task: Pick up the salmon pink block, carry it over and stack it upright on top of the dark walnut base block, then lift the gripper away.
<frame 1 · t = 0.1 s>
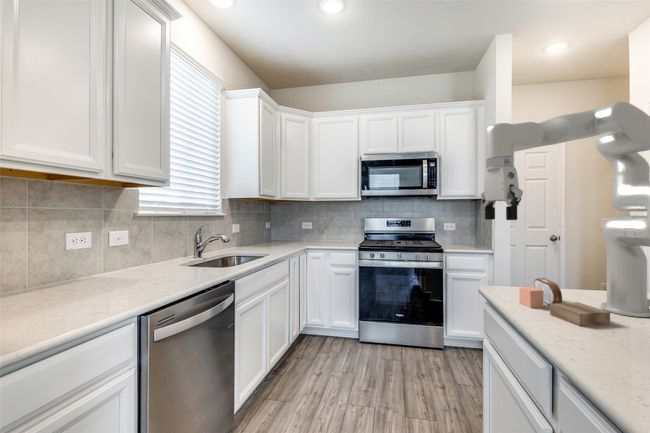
hand: (500, 219, 95), 31 cm above the worktop, tool pointing down, fingers open, 9 cm apart
tin: (546, 303, 111), on the worktop
walnut base: (578, 320, 94), on the worktop
salmon pink block: (531, 305, 108), on the worktop
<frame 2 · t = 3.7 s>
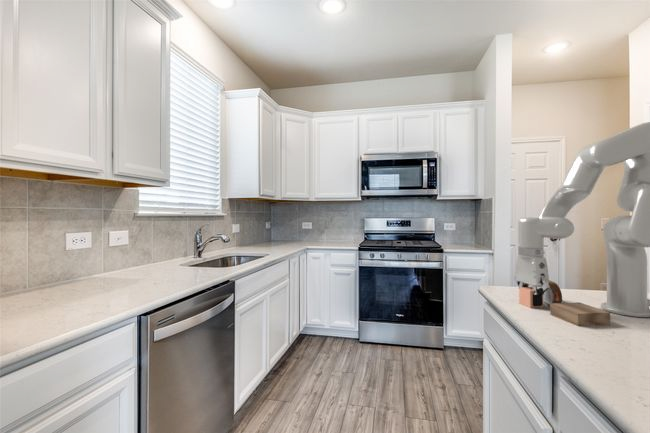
hand: (531, 302, 108), 1 cm above the worktop, tool pointing down, fingers closed on salmon pink block, 4 cm apart
salmon pink block: (531, 305, 108), on the worktop, touching gripper
everything else where it was.
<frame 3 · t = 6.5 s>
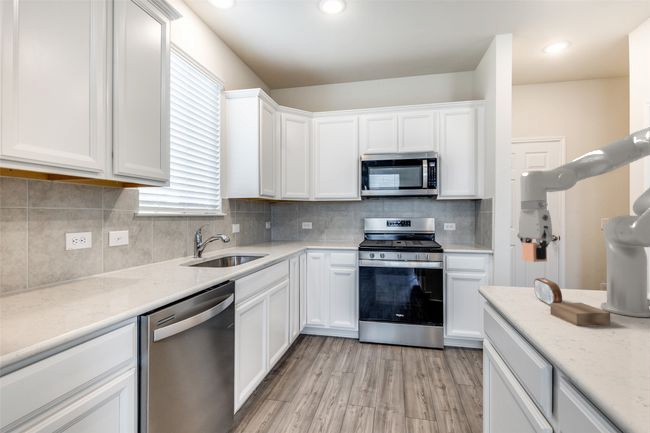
hand: (534, 257, 107), 17 cm above the worktop, tool pointing down, fingers closed on salmon pink block, 4 cm apart
salmon pink block: (534, 260, 107), point 16 cm above the worktop, touching gripper
everything else where it was.
when the fingers open (6 cm above the worktop, at t = 9.7 s): salmon pink block drops 1 cm, resting on walnut base.
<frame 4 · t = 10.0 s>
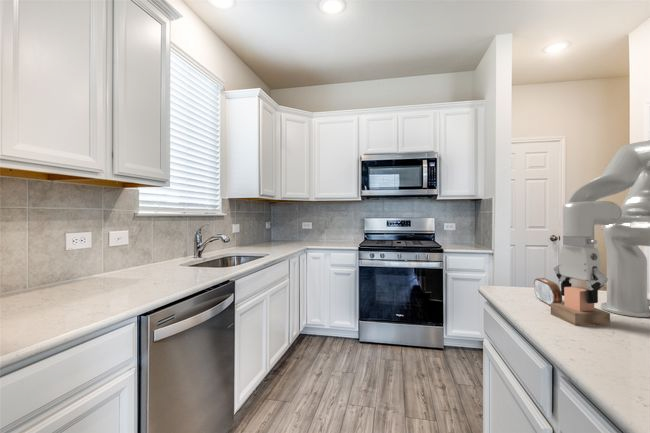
hand: (578, 298, 94), 6 cm above the worktop, tool pointing down, fingers open, 7 cm apart
walnut base: (578, 320, 94), on the worktop, touching salmon pink block
salmon pink block: (579, 308, 94), point 4 cm above the worktop, touching walnut base
everything else where it was.
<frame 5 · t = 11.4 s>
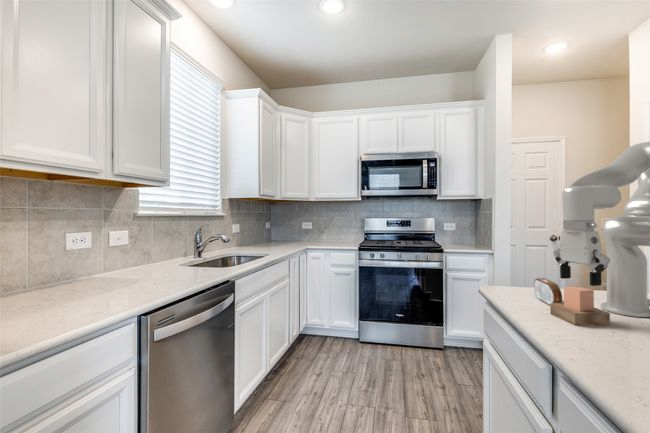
hand: (579, 281, 94), 12 cm above the worktop, tool pointing down, fingers open, 9 cm apart
walnut base: (578, 320, 94), on the worktop
salmon pink block: (578, 307, 94), point 4 cm above the worktop
everything else where it was.
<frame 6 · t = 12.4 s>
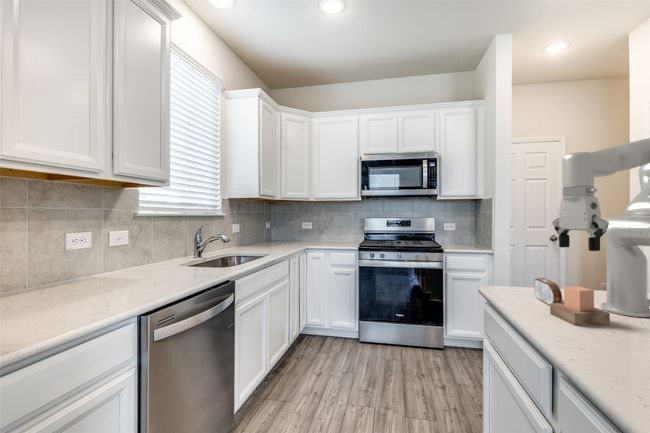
hand: (578, 248, 94), 22 cm above the worktop, tool pointing down, fingers open, 9 cm apart
walnut base: (578, 320, 94), on the worktop, touching salmon pink block
salmon pink block: (578, 307, 94), point 4 cm above the worktop, touching walnut base
everything else where it was.
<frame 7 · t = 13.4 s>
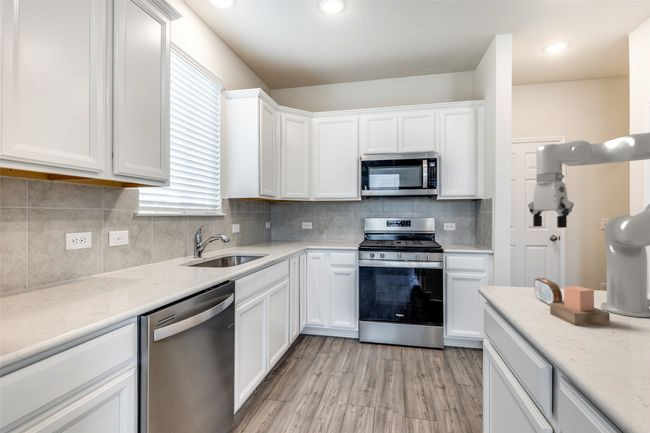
hand: (549, 226, 110), 28 cm above the worktop, tool pointing down, fingers open, 9 cm apart
nothing on the worktop moved.
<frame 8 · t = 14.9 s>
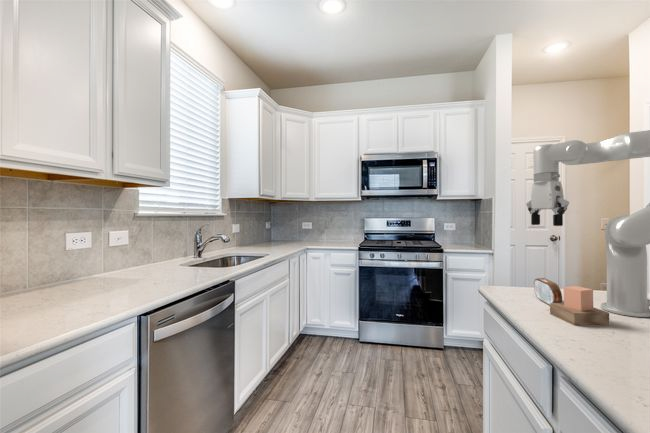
hand: (546, 225, 112), 28 cm above the worktop, tool pointing down, fingers open, 9 cm apart
walnut base: (578, 320, 94), on the worktop
salmon pink block: (578, 307, 94), point 4 cm above the worktop
everything else where it was.
at the end: salmon pink block 0.0 cm off-centre on the walnut base, point 4.0 cm above the walnut base's base; salmon pink block tilted 0°; the gripper is holding nothing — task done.
